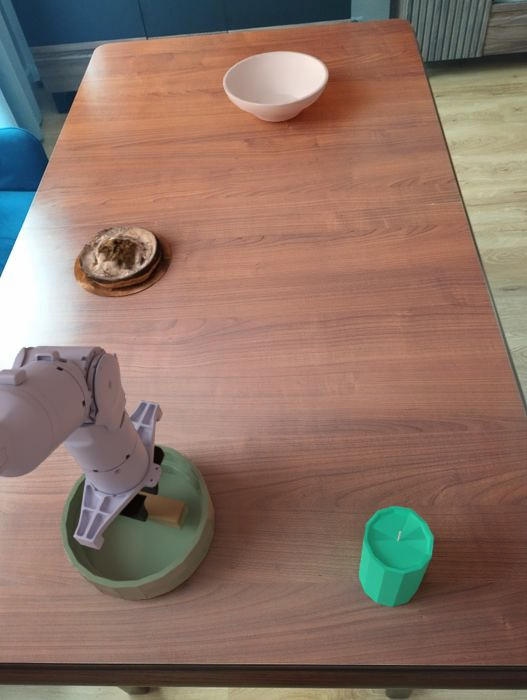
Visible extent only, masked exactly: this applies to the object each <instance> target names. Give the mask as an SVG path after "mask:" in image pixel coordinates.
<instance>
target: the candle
mask: <svg viewBox="0 0 527 700" xmlns="http://www.w3.org/2000/svg"><path fill="white" fill-rule="evenodd" d="M362 541H363V542H362V549H361V555H360V562H359V569H358V579H359V582H360V585H361V587H362V591H363V592H364V593H365V594H366V595H367V596H368V597H369V598H370V599H371V600H372V601H374V602H375V603H376V604H378V605H381V606H382V605H383V606H386V607H391V608H394V607H398V606H401V605H404V604H407V603H409V602H410V600H411V599H412V598H413V597H414V595H415V594H416V593H417V592H418V590H419V588H420V585H421V583H422V581H423V578H424V575H425V574H426V571H427V568H428V566H429V564H430V562H431V559H432V558H433V550H434V549H433V548H434V541H435V537H434V534H433V532H432V531H431V529H430V527H429V525H428V523H427V521H426V520H425V519H424V518H423V517H421V516H420V515H419V514H418V513H417V512H416V511H415V510H413V508H409V507H403V506H400V505H399V506H398V505H392V506H388V507H385V508H382V509H377V511H375V512H374V514H373V515H372V516H371V517H370V519H369V520H368V521H367V522H366V523H365V529H364V533H363V540H362Z"/></svg>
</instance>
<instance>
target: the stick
mask: <svg viewBox="0 0 527 700" xmlns="http://www.w3.org/2000/svg"><path fill="white" fill-rule="evenodd" d="M138 494H142V495H146V496H147V497H146V500H145V502H144V504H145V508H146V510H147V512H148V517H147V521H151V522H154V523H158V524H162V525H165V526H169V527H172V528H176V529H180V530H182V527H183V525H184V522H185V520H186V517H187V514H188V512H189V510H188V508H187V506H186V504H185V502H181V501H177V500H173V499H169V498H166V497H162V496H158V495H153V494H149V493H145V492H141V491H139V492H138Z"/></svg>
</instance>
